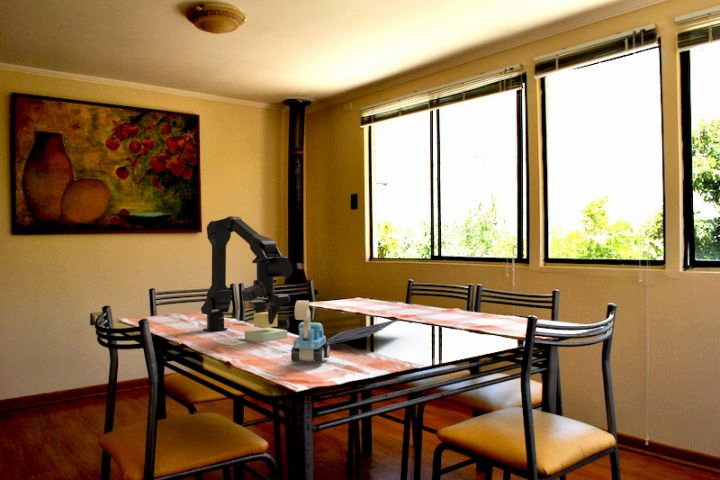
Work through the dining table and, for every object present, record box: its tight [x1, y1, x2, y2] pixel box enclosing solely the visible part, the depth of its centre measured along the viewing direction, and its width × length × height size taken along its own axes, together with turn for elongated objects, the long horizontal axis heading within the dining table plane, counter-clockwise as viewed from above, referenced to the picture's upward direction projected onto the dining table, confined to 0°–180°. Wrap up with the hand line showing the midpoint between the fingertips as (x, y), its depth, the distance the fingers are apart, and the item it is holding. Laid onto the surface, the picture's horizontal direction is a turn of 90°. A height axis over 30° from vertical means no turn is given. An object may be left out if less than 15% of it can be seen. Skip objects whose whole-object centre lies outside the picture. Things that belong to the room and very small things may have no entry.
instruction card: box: [217, 339, 248, 347], centre depth 175 cm, size 8×6×1 cm
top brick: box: [253, 311, 278, 329], centre depth 182 cm, size 5×6×4 cm
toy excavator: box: [290, 300, 331, 363], centre depth 145 cm, size 9×17×17 cm, turn 170°
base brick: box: [244, 327, 288, 343], centre depth 182 cm, size 10×10×3 cm
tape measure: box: [270, 318, 291, 330], centre depth 199 cm, size 7×7×4 cm
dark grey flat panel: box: [326, 318, 401, 345], centre depth 177 cm, size 24×30×4 cm
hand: (265, 323), depth 182 cm, fingers closed on top brick, 5 cm apart
